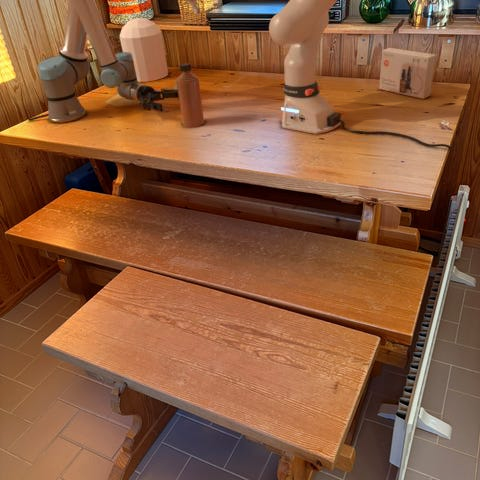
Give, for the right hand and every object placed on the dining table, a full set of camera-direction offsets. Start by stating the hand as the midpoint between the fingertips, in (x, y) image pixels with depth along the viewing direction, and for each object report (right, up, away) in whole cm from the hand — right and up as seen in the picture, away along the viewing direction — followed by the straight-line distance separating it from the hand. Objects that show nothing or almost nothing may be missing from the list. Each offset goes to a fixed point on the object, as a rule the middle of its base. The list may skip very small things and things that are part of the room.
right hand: (206, 11), depth 165 cm
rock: (-13, -13, +49) cm, 53 cm away
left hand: (-14, -27, +18) cm, 36 cm away
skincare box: (+79, -22, +24) cm, 85 cm away
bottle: (-6, -36, +15) cm, 40 cm away
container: (-36, +5, +79) cm, 87 cm away
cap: (-8, -18, +3) cm, 20 cm away
